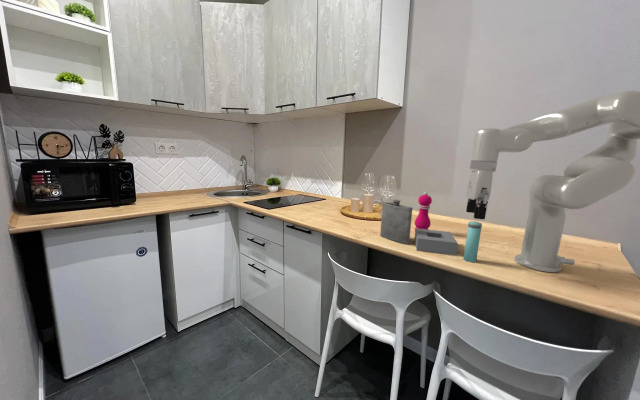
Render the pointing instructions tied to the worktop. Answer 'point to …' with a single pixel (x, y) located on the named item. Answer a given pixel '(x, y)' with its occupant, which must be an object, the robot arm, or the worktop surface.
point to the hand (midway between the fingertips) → (474, 215)
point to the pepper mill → (423, 212)
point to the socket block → (435, 241)
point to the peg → (472, 241)
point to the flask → (396, 222)
